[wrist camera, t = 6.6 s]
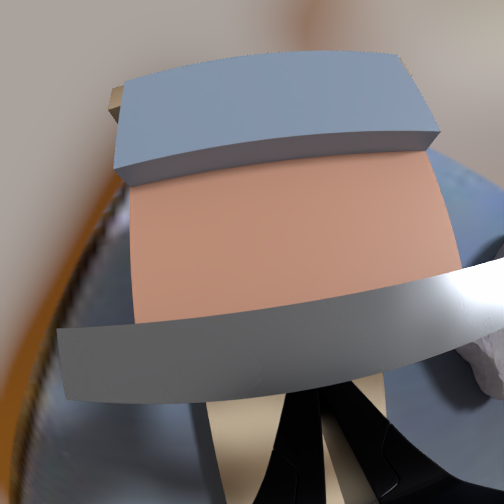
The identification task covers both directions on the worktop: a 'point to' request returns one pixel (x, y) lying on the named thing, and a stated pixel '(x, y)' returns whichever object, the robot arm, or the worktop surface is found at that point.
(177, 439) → the worktop surface
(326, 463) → the wooden book rack
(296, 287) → the book
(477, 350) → the stone block
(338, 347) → the grey flat rectangular panel
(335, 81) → the book
